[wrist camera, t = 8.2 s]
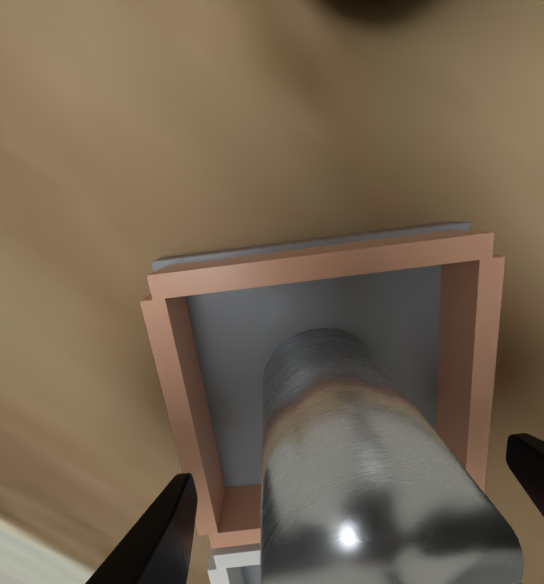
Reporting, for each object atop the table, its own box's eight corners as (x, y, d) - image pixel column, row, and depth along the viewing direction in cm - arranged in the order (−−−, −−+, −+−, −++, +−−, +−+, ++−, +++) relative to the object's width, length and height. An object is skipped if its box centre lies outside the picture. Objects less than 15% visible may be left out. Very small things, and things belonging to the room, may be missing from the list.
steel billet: (380, 424, 13) (510, 657, 6) (270, 437, 13) (276, 683, 6) (377, 320, 12) (538, 468, 5) (255, 335, 12) (241, 503, 5)
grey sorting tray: (436, 616, 18) (470, 694, 15) (245, 638, 18) (241, 720, 15) (452, 221, 12) (515, 223, 9) (160, 258, 12) (125, 271, 9)
